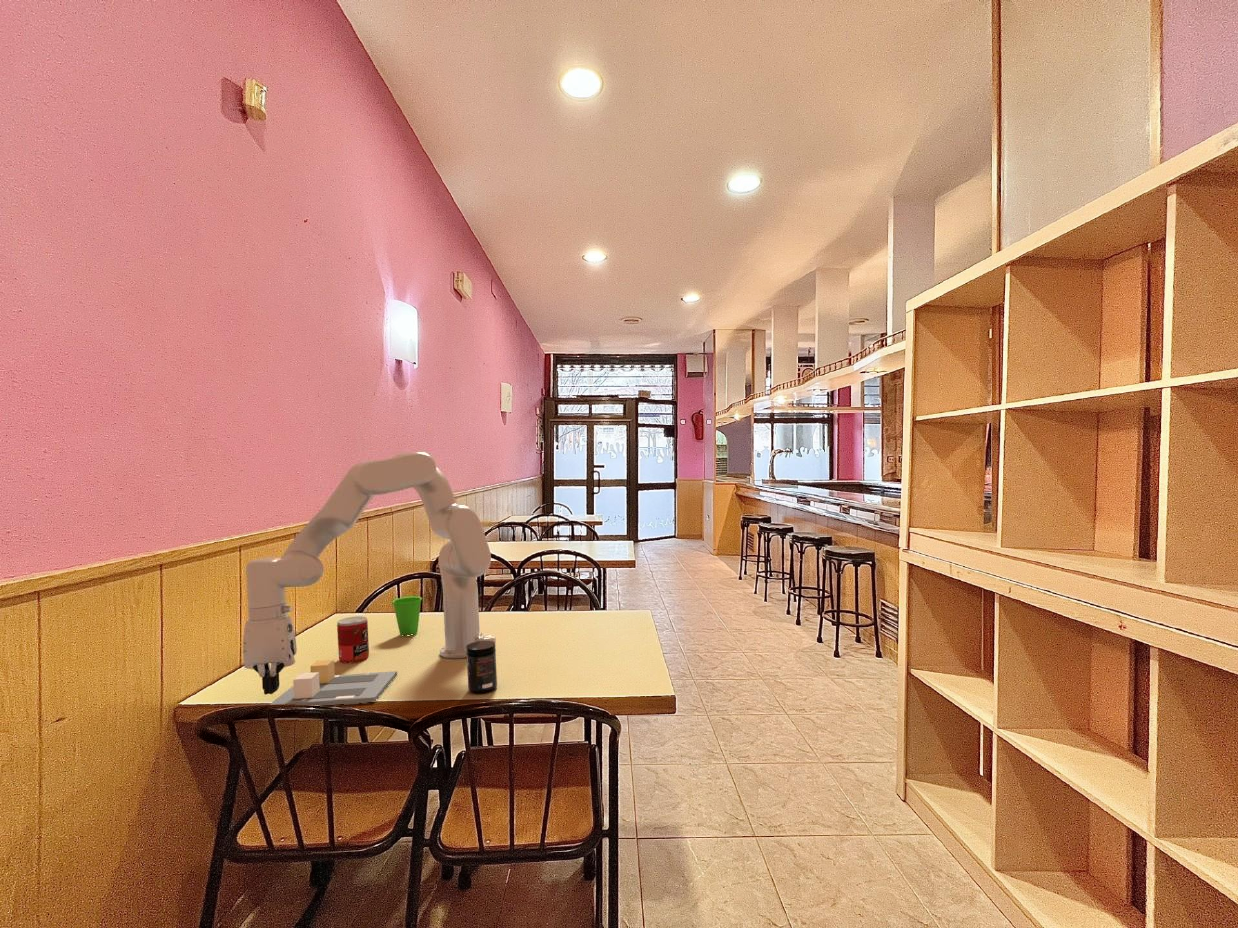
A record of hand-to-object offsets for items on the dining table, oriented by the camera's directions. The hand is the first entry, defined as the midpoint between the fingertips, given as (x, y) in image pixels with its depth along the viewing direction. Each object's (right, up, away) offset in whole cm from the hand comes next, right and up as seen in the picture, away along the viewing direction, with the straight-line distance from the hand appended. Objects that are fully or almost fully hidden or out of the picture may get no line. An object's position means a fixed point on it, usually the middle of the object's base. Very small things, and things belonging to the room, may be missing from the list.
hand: (271, 691), depth 138 cm
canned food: (+6, -2, +30) cm, 31 cm away
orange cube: (+7, -1, +10) cm, 12 cm away
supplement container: (+48, -1, +3) cm, 48 cm away
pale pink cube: (+8, -1, +1) cm, 8 cm away
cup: (+13, -2, +53) cm, 54 cm away
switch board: (+13, -2, +5) cm, 14 cm away
